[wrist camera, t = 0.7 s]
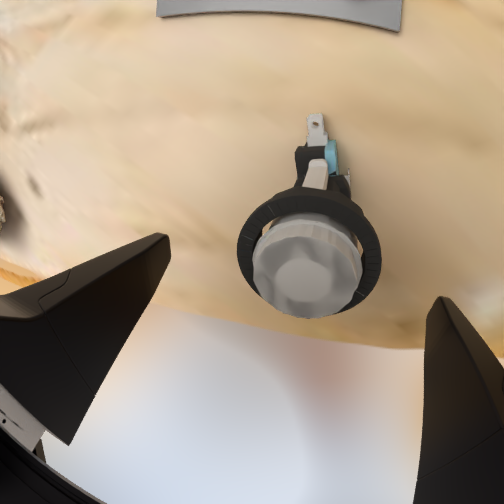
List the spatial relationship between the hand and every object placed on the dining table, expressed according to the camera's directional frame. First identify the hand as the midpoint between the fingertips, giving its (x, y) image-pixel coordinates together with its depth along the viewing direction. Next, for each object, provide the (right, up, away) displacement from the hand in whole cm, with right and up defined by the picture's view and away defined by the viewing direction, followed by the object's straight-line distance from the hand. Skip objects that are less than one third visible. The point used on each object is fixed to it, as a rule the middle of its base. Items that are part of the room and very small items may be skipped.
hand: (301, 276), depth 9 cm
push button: (+3, +6, +9) cm, 11 cm away
